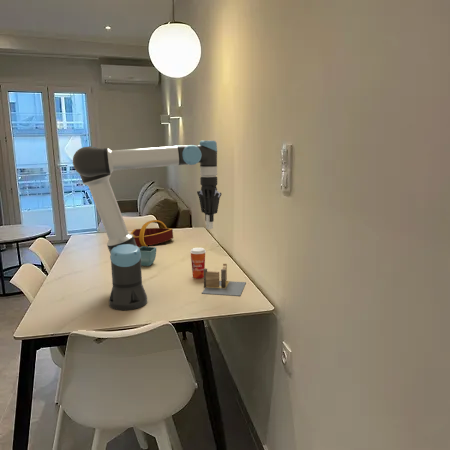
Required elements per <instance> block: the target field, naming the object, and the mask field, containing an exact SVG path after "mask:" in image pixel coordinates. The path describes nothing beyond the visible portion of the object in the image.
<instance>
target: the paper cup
mask: <svg viewBox="0 0 450 450" xmlns="http://www.w3.org/2000/svg"><path fill="white" fill-rule="evenodd" d="M189 253H190V261H191V273H192V278H193V279H196V280H200V279H204V269H205V267H206V266H205V264H206V253H207V251H206V249H205V248H203V247H193V248H191V249H190V252H189Z"/></svg>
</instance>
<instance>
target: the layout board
mask: <svg viewBox="0 0 450 450" xmlns="http://www.w3.org/2000/svg"><path fill="white" fill-rule="evenodd" d="M245 286H246V281H231V280H226V287H225V288H221V280H219V287H204V289H203V290H202V292H201V294H204V295H217V296H219V295H220V296H231V297H233V296H234V297H242V296H241V295H242V293H243V290H244V288H245Z"/></svg>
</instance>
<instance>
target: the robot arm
mask: <svg viewBox="0 0 450 450" xmlns="http://www.w3.org/2000/svg"><path fill="white" fill-rule="evenodd" d="M196 164H199V168H200V169H199V173H200V174H199V175H200V178H199V180H200V181H199V182H200V184H199V185H201V188H200V190H198V191H196V194H197V196H198V201H199V205H200V210H201V211H200V212H201V213H203V214H204V215H205V217H204V220H205V224H206V225H205V228H206V230H212V229H214V224H213V223H214V222H215V221H214V220H215V219H214V217H215V214H218V209H219V206H220V205H219V204H220V198H221V196H222V192H219V191H218V187H217V185H218V177H217V176H218V145H217V142H216V140H200V141H199V144H196V145H194V144H189V145H188V144H187V145H185V144H183V145H181V144H177V145H173V146H159V147H158V146H157V147H143V148H130V149H127V148H126V149H113V150H111V149H110V148H109V147H104V148H102V147H101V148H100V147H99V148H98V147H95V146H91V145H89V146H83V147H80V148H79V149H77V150H76V151H75V152H74V154H73V157H72V165H73V168H74V169H75V172H76V173H78V174H79V176H80V179H81V181H82V183H83V185H85V186H87V187H88V188H89V191H90V193H91V197H92V199H93V201H94V204H95V207H96V210H97V212H98V215H99V218H100V220H101V223H102V225H103V227H104V228H103V229H104V230H105V233H106V235H107V237H108V241H107V243H106V246H107V249H108V251H109V253H110V254H109V256H110V257H109V259H110V265H111V278H112V279H111V280H112V283H111V285H112V288H111V292H110V294H109V299H108V303H109V305H108V306H109V307H110V308H111V309H112V310H118V311H131V310H136V309H139V308H142V307H144V306H146V304H147V303H148V296H147V292H146V291H145V290H146V289H145V288H144V285H143V279H142V277H143V276H142V266H141V252H140V249H139V248H140V246H137V245H136V242H135V239H134V237H133V235H132V234H130V233H131V232H129V231H128V228H127V226H126V223H125V220H124V217H123V215H122V212H121V209H120V207H119V204H118V201H117V199H116V195H115V193H114V190H113V188H112V185H111V181H110V178H111V176H112V173H113V172H114V171H123V170H134V169H137V170H138V169H146V168H147V169H149V168H159V167H161V168H162V167H172V166H185V165H186V166H187V165H189V166H192V165H196Z"/></svg>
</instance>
